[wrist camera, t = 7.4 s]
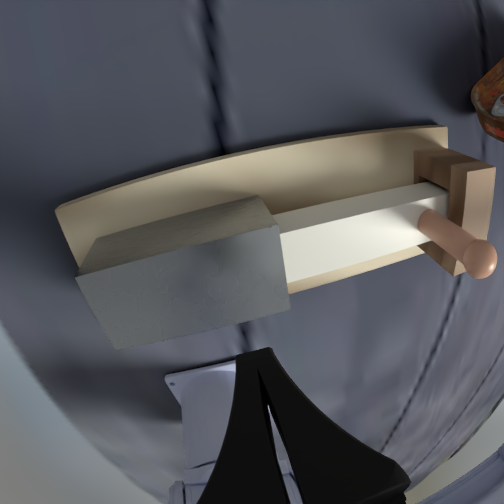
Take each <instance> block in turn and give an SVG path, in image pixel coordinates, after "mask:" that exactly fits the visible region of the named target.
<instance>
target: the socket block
mask: <svg viewBox="0 0 504 504" xmlns="http://www.w3.org/2000/svg"><path fill="white" fill-rule="evenodd" d="M413 152H414V184H418V183H423V182H428V181H432V182H434V183H436V184H438V185H440V186H442V187H444V188H446V189H448V190H450V196H449V209H448V219H449V220H450V221H452V222H453V223H455V224H456V225H458V226H459V227H461V228H462V229H464V230H465V231H467V232H468V233H470V234H471V235H473V236H474V237H476V238H477V239H483V240H486V239H487V233H488V228H489V222H490V215H491V208H492V201H493V192H494V183H495V171H496V167H494V166H492V165H490V164H487V163H485V162H482V161H480V160H477V159H475V158H472V157H469V156H467V155H464V154H461V153H459V152H456V151H453V150H450V149H447V148H444V147H440V148H431V149H423V150H415V151H413ZM416 246H418V247H419V248H420V249H421V250H423V251H424V252H425V253H426V254H428V255H429V256H430V257H431V258H432V259H434V260H435V261H436V262H437V263H438V264H439V265H441V266H442V267H443V268H444V269H445V270H446V271H448V272H449V273H450V274H451V275H452V276H456V275H458V274H460V273H463V272H465V271H466V270H465V268H464V265H463V264H462V263H460V262H459V261H458V260H457V259H455V258H454V257H453V256H452V255H450V254H449V253H448V252H447V251H445V250H444V249H443V248H441V247H440V246H439V245H437V244H436V243H435V242H433V241H428V242H425V243H422V244H419V245H416Z"/></svg>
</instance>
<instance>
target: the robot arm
mask: <svg viewBox="0 0 504 504" xmlns="http://www.w3.org/2000/svg"><path fill="white" fill-rule="evenodd" d="M165 382H166V384H167V385H168V387H169V388H170V390H171V392H172V393H173V395H174V396H175V398H176V399H177V401H178V402H179V404H180V405H181V410H182V427H183V441H184V454H185V466H186V469H184V481H185V484H184V482H183V481H175V482H174V484H173V485H172V486H171V487H170V488H169V504H406V502H405V501H406V497H405V495H404V491H405V490H406V489H407V488H408V487H409V485H410V483H411V481H410V479H409V477H408V475H407V474H406V472H405V471H404V470H403V469H402V468H401V467H400V465H399V464H398V463H397V462H396V461H394V460H392V459H390V458H388V457H386V456H384V455H383V454H381V453H379V452H377V451H375V450H373V449H372V448H370V447H368V446H367V445H365V444H364V443H362V442H360V441H359V440H357V439H356V438H355V437H353V436H352V435H350V434H349V433H347V432H346V431H345V430H343V429H342V428H341V427H339V426H338V425H337V424H336V423H334V422H333V421H332V420H331V419H329V418H328V417H327V416H326V415H325V414H324V413H323V412H322V411H320V410H319V409H318V408H317V407H316V406H315V405H314V404H313V403H312V402H311V401H310V400H309V399H308V398H307V397H306V396H305V394H304V393H303V392H302V391H301V390H300V389H299V388H298V386H297V385H296V384H295V383H294V382H293V380H292V379H291V378H290V377H289V375H288V374H287V373H286V371H285V370H284V368H283V367H282V366H281V364H280V363H279V361H278V359H277V358H276V356H275V354H274V352H273V350H272V348H270V347H267V348H263V349H259V350H256V351H252V352H248V353H244V354H240V355H237V356H236V357H235V360H233V361H229V362H225V363H220V364H216V365H211V366H207V367H202V368H198V369H193V370H188V371H183V372H178V373H173V374H168V375H166V376H165ZM172 382H173V383H172ZM269 412H271V414H272V417H273V419H274V422H275V424H276V427H277V429H278V431H279V434H280V436H281V439H282V441H283V444H284V446H285V449H286V451H287V454H288V457H289V460H290V463H291V467H292V470H288V467H287V463H286V460H281V461H279V460H278V456H277V453H276V449H275V443H274V438H273V432H272V426H271V421H270V415H269ZM416 504H504V444H503V445H502V446H501V447H500V448H499V449H498V450H497V451H496V452H495V453H493V454H492V455H491V456H490V457H488V458H487V459H486V460H484V461H483V462H482V463H480V464H479V465H478V466H476V467H475V468H473V469H472V470H470V471H469V472H468V473H466V474H465V475H463V476H462V477H460V478H459V479H457V480H456V481H454V482H452V483H451V484H450V485H448V486H446V487H444V488H443V489H441V490H439V491H438V492H436V493H434V494H433V495H431V496H429V497H427V498H426V499H424V500H422V501H420V502H419V503H416Z"/></svg>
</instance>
